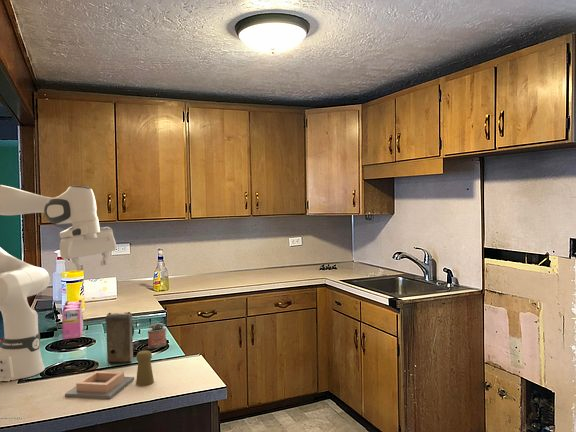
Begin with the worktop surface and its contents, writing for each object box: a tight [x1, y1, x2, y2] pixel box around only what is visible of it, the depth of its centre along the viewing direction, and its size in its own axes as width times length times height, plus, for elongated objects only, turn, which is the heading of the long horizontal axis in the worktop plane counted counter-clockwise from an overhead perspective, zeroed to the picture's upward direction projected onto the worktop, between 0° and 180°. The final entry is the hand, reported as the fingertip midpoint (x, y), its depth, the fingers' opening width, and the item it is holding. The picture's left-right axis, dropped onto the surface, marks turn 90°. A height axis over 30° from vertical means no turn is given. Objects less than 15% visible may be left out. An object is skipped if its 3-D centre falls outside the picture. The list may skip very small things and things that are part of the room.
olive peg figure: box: [135, 350, 155, 387], centre depth 163 cm, size 6×6×11 cm
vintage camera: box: [105, 311, 141, 364], centre depth 190 cm, size 10×15×20 cm, turn 2°
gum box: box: [61, 299, 84, 340], centre depth 230 cm, size 24×8×14 cm, turn 21°
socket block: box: [64, 370, 136, 400], centre depth 159 cm, size 16×16×4 cm
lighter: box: [147, 322, 167, 350], centre depth 203 cm, size 8×3×10 cm, turn 130°
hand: (92, 267), depth 168 cm, fingers open, 8 cm apart
